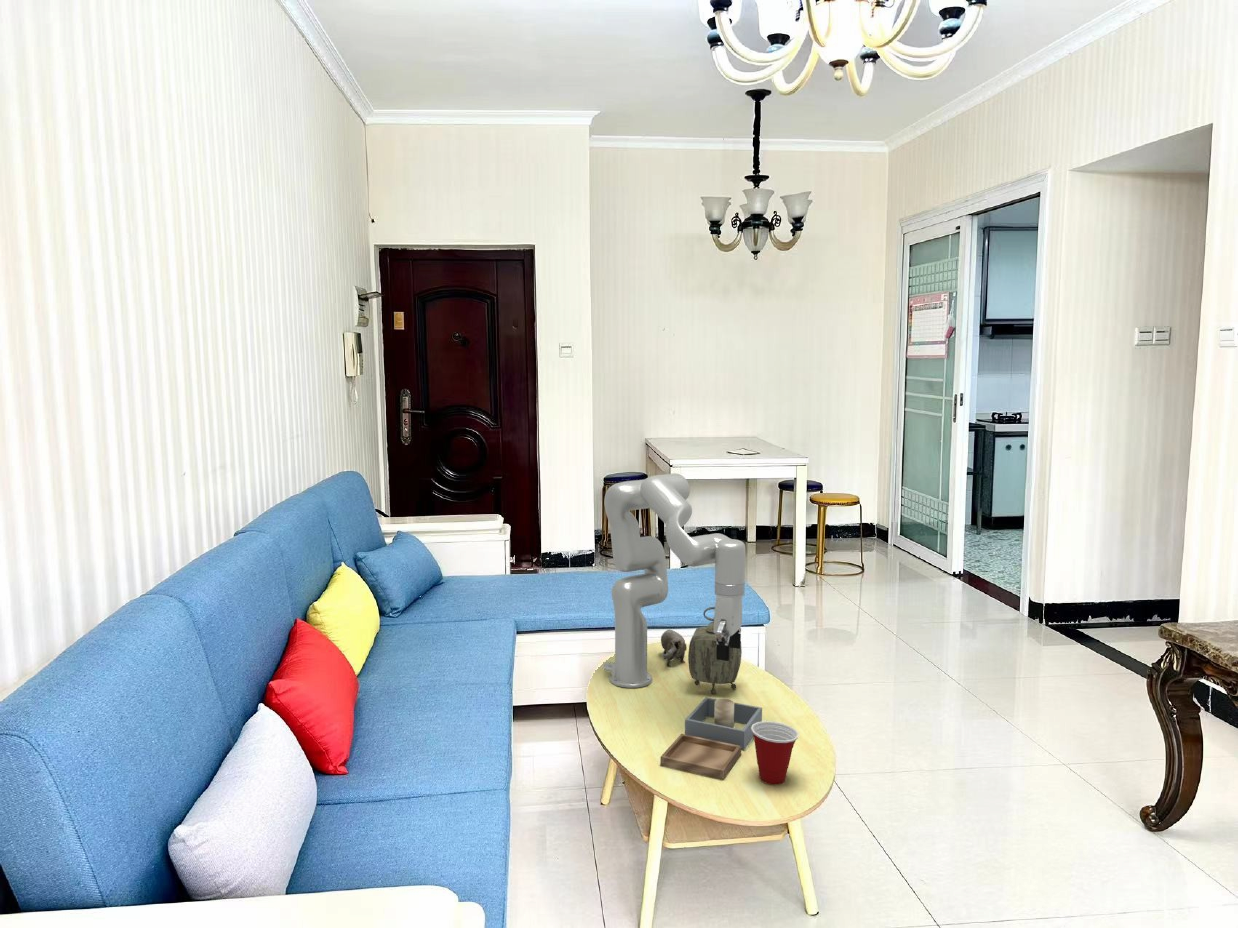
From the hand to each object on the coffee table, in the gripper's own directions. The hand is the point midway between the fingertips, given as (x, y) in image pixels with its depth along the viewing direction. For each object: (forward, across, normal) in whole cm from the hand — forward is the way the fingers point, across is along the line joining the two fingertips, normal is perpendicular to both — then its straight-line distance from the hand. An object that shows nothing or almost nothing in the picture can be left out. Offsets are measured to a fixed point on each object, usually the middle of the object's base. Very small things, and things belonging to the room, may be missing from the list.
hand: (728, 653), depth 218 cm
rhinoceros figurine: (+21, -40, -30) cm, 54 cm away
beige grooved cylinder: (+21, +1, -1) cm, 21 cm away
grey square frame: (+21, +1, -1) cm, 21 cm away
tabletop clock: (+21, -23, -11) cm, 33 cm away
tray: (+21, +18, -1) cm, 27 cm away
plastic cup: (+21, +19, +17) cm, 33 cm away
